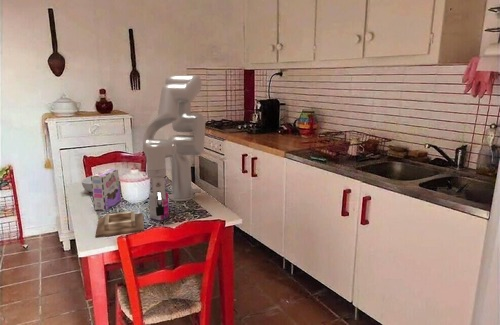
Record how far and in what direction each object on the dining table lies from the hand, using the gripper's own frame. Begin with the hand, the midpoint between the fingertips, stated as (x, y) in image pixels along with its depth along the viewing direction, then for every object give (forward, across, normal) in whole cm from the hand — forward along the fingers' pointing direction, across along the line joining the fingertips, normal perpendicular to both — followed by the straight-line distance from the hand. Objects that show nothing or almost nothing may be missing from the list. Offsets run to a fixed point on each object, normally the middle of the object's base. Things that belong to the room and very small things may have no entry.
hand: (159, 211), depth 159 cm
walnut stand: (+3, -3, +16) cm, 17 cm away
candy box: (+3, +24, +22) cm, 33 cm away
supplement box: (+3, 0, 0) cm, 3 cm away
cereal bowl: (+3, +49, +27) cm, 56 cm away
